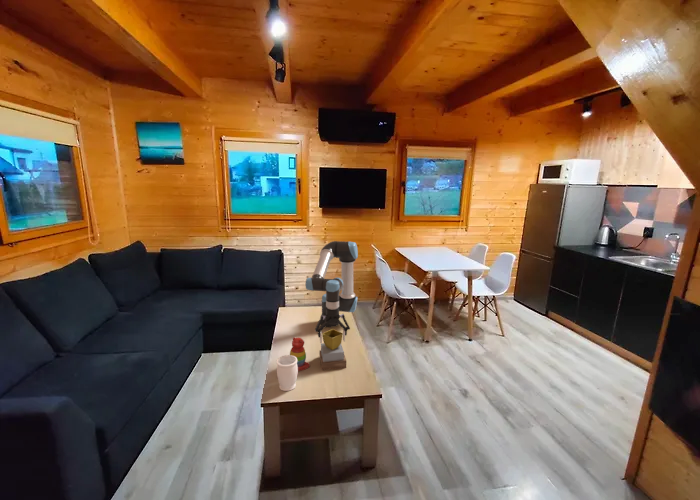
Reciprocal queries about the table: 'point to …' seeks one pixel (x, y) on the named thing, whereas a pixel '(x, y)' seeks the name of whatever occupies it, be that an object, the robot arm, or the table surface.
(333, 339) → the flower pot
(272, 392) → the table surface
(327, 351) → the grey top slab
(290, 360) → the jar
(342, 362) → the walnut base slab
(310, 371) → the table surface
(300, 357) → the stacking bear
